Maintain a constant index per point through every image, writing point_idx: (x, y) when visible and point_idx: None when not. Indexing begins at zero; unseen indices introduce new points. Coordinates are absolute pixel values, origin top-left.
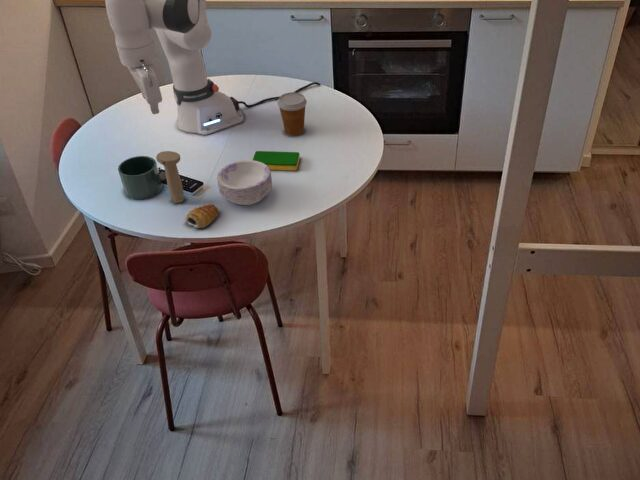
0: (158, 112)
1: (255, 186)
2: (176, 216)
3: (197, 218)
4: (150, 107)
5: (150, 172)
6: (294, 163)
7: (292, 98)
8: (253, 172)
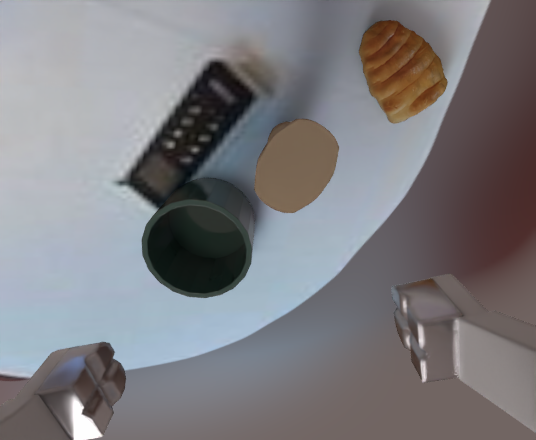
0: (449, 279)
1: None
2: (353, 145)
3: (443, 86)
4: (456, 376)
5: (236, 216)
6: None
7: None
8: None
